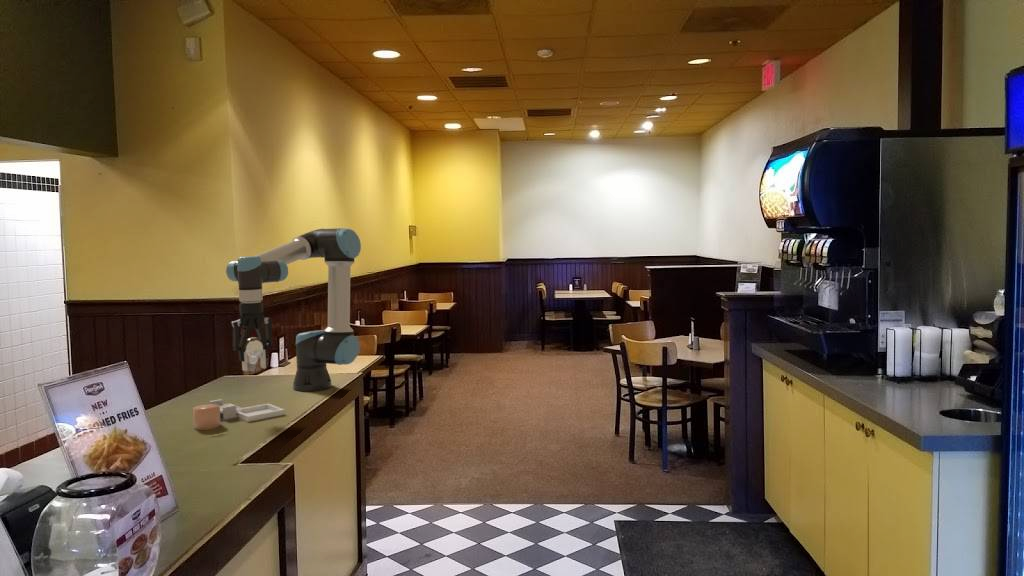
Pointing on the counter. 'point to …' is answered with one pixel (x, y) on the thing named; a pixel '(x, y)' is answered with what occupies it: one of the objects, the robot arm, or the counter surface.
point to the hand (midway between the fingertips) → (254, 369)
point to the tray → (260, 412)
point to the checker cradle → (226, 411)
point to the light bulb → (253, 352)
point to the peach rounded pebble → (206, 417)
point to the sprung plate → (228, 405)
